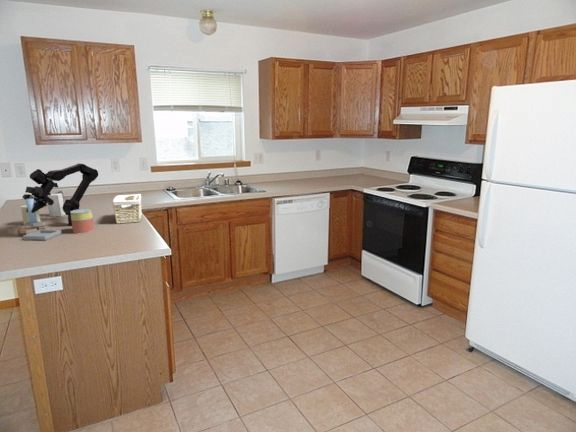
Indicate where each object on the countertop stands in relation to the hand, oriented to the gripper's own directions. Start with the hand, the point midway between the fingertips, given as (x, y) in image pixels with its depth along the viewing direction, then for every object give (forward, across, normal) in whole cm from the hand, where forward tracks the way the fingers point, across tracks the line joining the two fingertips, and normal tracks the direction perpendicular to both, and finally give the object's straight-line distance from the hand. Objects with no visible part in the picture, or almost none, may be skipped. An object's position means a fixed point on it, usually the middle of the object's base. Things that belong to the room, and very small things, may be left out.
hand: (29, 212), depth 219 cm
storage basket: (-26, +21, +46) cm, 56 cm away
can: (-4, -28, +23) cm, 36 cm away
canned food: (-3, +17, +23) cm, 29 cm away
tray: (+9, +7, +10) cm, 15 cm away
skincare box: (-19, -33, +38) cm, 54 cm away
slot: (+5, -11, +15) cm, 19 cm away
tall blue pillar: (+4, 0, +6) cm, 8 cm away
